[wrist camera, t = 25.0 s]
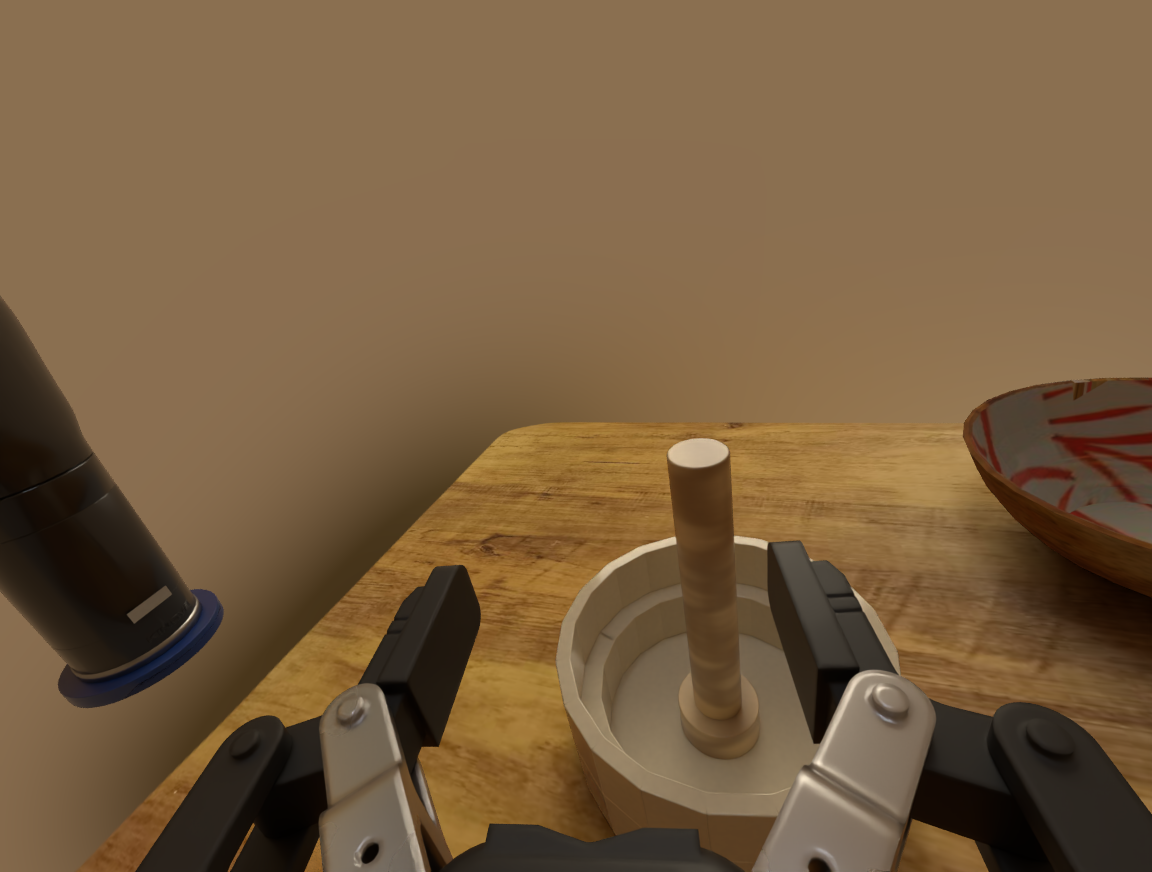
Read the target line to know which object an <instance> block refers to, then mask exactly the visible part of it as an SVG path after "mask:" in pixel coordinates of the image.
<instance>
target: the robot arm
mask: <svg viewBox="0 0 1152 872" xmlns="http://www.w3.org/2000/svg"><path fill="white" fill-rule="evenodd" d="M767 587H768V598H769V604H770V609H771V613H772V616H773V619H774V622H775V625H776V628H777V632H778V635H779V638H780V641H781V644H782V647H783V650H784V653H785V656H786V660H787V663H788V666H789V669H790V672H791V675H792V678H793V681H794V685H795V688H796V691H797V694H798V697H799V700H800V703H801V706H802V709H803V713H804V716H805V719H806V722H807V725H808V728H809V731H810V734H811V738H812V741H813V744H820V745H819V747H818V750H817V752H816V754H815V756H814V758H813V760H812V762H811V763H810V765H804V766H803V767H802V768H801V770H800V771H799V773H798V774H797V776H796V778H795V780H794V782H793V785H792V787H791V789H790V791H789V793H788V795H787V797H786V799H785V801H784V803H783V805H782V808H781V810H780V812H779V814H778V816H777V818H776V820H775V822H774V824H773V826H772V829H771V831H770V833H769V835H768V837H767V839H766V841H765V843H764V845H763V847H762V850H761V852H760V854H759V856H758V858H757V860H756V862H755V864H754V866H753V868H752V871H751V872H897V871H898V868H899V864H900V861H901V857H902V854H903V850H904V847H905V844H906V840H907V837H908V833H909V830H910V826H911V823H912V820H913V819H915V820H918V821H920V822H923V823H926V824H929V825H932V826H935V827H938V828H941V829H944V830H947V831H949V832H952V833H955V834H958V835H961V836H964V837H967V838H970V839H973V840H975V842H976V845H977V847H978V849H979V851H980V853H981V855H982V858H983V860H984V862H985V864H986V866H987V868H988V871H989V872H1152V814H1151V813H1150V811H1149V810H1148V809H1147V807H1146V806H1145V805H1144V803H1143V802H1142V801H1141V799H1140V798H1139V797H1138V795H1137V794H1136V793H1135V791H1134V790H1133V789H1132V788H1131V786H1130V785H1129V784H1128V782H1127V781H1126V780H1125V778H1124V777H1123V776H1122V774H1121V773H1120V772H1119V770H1118V769H1117V768H1116V766H1115V765H1114V764H1113V762H1112V761H1111V760H1110V758H1109V757H1108V756H1107V754H1106V753H1105V752H1104V750H1103V749H1102V748H1101V746H1100V745H1099V744H1098V743H1097V742H1096V740H1095V739H1094V738H1093V737H1092V736H1091V735H1090V734H1089V733H1088V732H1087V731H1086V730H1084V729H1083V728H1082V727H1081V726H1079V725H1078V724H1077V723H1075V722H1074V721H1072V720H1071V719H1069V718H1068V717H1066V716H1064V715H1062V714H1060V713H1058V712H1056V711H1054V710H1051V709H1049V708H1046V707H1043V706H1040V705H1036V704H1031V703H1023V702H1016V703H1009V704H1006V705H1003V706H1001V707H1000V708H999V709H998V710H997V711H996V712H995V714H994V716H993V717H991V716H987V715H983V714H979V713H975V712H971V711H967V710H963V709H959V708H955V707H951V706H947V705H944V704H941V703H938V702H936V701H934V700H931V699H929V698H928V697H927V696H926V694H925V693H924V692H923V691H922V690H921V689H920V688H918V687H917V686H916V685H915V684H914V683H912V682H910V681H909V680H907V679H905V678H904V677H902V676H900V675H899V674H898V673H897V671H896V670H895V668H894V666H893V665H892V663H891V661H890V659H889V657H888V655H887V653H886V652H885V650H884V648H883V646H882V644H881V642H880V640H879V638H878V637H877V635H876V633H875V631H874V629H873V627H872V625H871V624H870V622H869V620H868V618H867V616H866V614H865V612H863V611H862V607H861V605H860V603H859V601H858V599H857V597H855V595H854V592H853V590H852V588H851V586H850V584H849V583H848V581H847V579H846V577H845V575H844V574H843V573H841V572H840V571H839V570H838V569H837V568H835V567H834V566H833V565H832V564H831V563H830V562H828V561H827V560H825V561H810V559H809V557H808V555H807V552H806V550H805V548H804V546H803V544H802V542H801V541H784V542H770V543H768V546H767ZM0 592H1V593H2V594H3V595H4V596H5V597H6V598H7V599H8V600H9V601H10V602H11V604H13V606H14V607H15V608H16V609H17V610H18V611H19V612H20V613H21V614H22V615H23V617H24V618H25V619H26V620H27V621H28V622H29V623H30V624H31V625H32V626H33V627H34V628H35V630H36V631H37V632H38V633H39V634H40V635H41V636H42V637H43V638H44V639H45V640H46V641H47V643H48V644H49V645H50V646H51V647H52V648H53V649H54V650H55V651H56V652H57V653H58V654H59V656H60V657H61V658H62V659H63V660H64V661H65V662H66V663H67V664H68V665H69V666H70V668H71V671H72V672H73V673H74V674H75V675H76V676H77V678H78V679H79V680H81V681H83V682H86V683H98V682H104V681H108V680H112V679H115V678H118V677H120V676H123V675H125V674H128V673H130V672H132V671H134V670H136V669H138V668H140V667H142V666H144V665H146V664H147V663H149V662H151V661H153V660H154V659H156V658H157V657H159V656H160V655H162V654H163V653H165V652H166V651H167V650H169V649H170V648H171V647H173V646H174V645H175V644H176V643H177V642H179V641H180V640H181V639H182V638H183V637H184V636H185V635H186V634H187V633H188V632H189V631H190V630H191V629H192V627H193V626H194V625H195V624H196V622H197V621H198V619H199V617H200V615H201V612H202V605H201V603H200V601H199V600H198V599H197V597H196V596H195V595H194V594H193V593H191V591H190V590H189V588H188V587H187V585H186V584H185V582H184V581H183V580H182V578H181V577H180V575H179V573H178V572H177V571H176V569H175V568H174V566H173V565H172V563H171V562H170V561H169V559H168V558H167V556H166V555H165V553H164V552H163V551H162V549H161V548H160V546H159V545H158V543H157V542H156V540H155V539H154V537H153V536H152V535H151V533H150V532H149V530H148V529H147V527H146V526H145V525H144V523H143V522H142V520H141V519H140V517H139V516H138V515H137V513H136V512H135V510H134V509H133V507H132V506H131V504H130V503H129V502H128V501H127V499H126V497H125V496H124V494H123V493H122V492H121V490H120V489H119V487H118V486H117V484H116V483H115V482H114V480H113V479H112V478H111V476H110V475H109V473H108V472H107V470H106V469H105V468H104V466H103V465H102V463H101V462H100V460H99V459H98V458H97V456H96V455H95V453H94V452H93V451H92V449H91V447H90V446H89V445H88V443H87V441H86V440H85V438H84V437H83V435H82V432H81V430H80V427H79V424H78V421H77V419H76V416H75V414H74V412H73V410H72V408H71V406H70V404H69V403H68V401H67V399H66V398H65V396H64V395H63V393H62V391H61V390H60V388H59V387H58V385H57V384H56V382H55V380H54V379H53V377H52V375H51V374H50V372H49V370H48V369H47V367H46V366H45V364H44V362H43V361H42V359H41V357H40V355H39V354H38V352H37V350H36V349H35V347H34V345H33V343H32V342H31V340H30V338H29V337H28V335H27V333H26V332H25V330H24V328H23V327H22V325H21V324H20V322H19V321H18V319H17V317H16V316H15V314H14V313H13V312H12V310H11V309H10V308H9V307H8V305H7V304H6V303H5V301H4V300H3V299H2V297H1V296H0ZM480 619H481V613H480V606H479V602H478V600H477V597H476V594H475V591H474V589H473V586H472V583H471V580H470V577H469V575H468V572H467V569H466V568H465V566H463V565H453V566H439V567H435V568H434V569H433V571H432V573H431V574H430V576H429V578H428V580H427V582H426V584H425V586H424V587H417V588H416V589H415V590H414V591H413V592H412V593H411V594H410V595H409V596H408V597H407V598H406V599H405V600H404V601H403V603H402V604H401V606H400V608H399V610H398V612H397V614H396V615H395V617H394V621H392V623H391V625H390V626H389V628H388V630H387V635H385V636H384V637H383V639H382V641H381V643H380V645H379V647H378V649H377V650H376V652H375V654H374V656H373V658H372V660H371V661H370V663H369V665H368V667H367V669H366V671H365V672H364V674H363V676H362V678H361V680H360V682H359V683H358V685H356V686H353V687H351V688H349V689H347V690H346V691H344V692H343V693H341V694H340V695H339V696H337V697H336V698H335V699H334V700H333V701H332V702H331V703H330V705H329V706H328V707H327V708H326V710H325V712H324V713H323V715H322V716H319V717H316V718H313V719H310V720H307V721H304V722H301V723H298V724H295V725H292V726H289V727H286V728H285V726H284V725H283V724H282V722H281V721H280V720H279V718H277V717H275V716H262V717H258V718H255V719H253V720H251V721H249V722H247V723H245V724H244V725H242V726H241V727H239V728H238V729H237V730H236V731H234V732H233V733H232V734H231V735H230V736H229V737H228V738H227V739H226V740H225V741H224V742H223V743H222V745H221V746H220V747H219V749H218V750H217V752H216V753H215V755H214V756H213V758H212V759H211V761H210V762H209V764H208V765H207V766H206V768H205V769H204V771H203V772H202V774H201V775H200V777H199V778H198V780H197V781H196V783H195V784H194V786H193V787H192V789H191V790H190V792H189V793H188V795H187V796H186V798H185V799H184V801H183V802H182V803H181V805H180V806H179V808H178V809H177V811H176V812H175V814H174V815H173V817H172V818H171V820H170V821H169V823H168V824H167V826H166V827H165V829H164V830H163V832H162V833H161V835H160V836H159V837H158V839H157V840H156V842H155V843H154V845H153V846H152V848H151V849H150V851H149V852H148V854H147V855H146V857H145V858H144V860H143V861H142V863H141V864H140V866H139V867H138V869H137V870H136V871H135V872H227V871H228V869H229V866H230V864H231V862H232V860H233V858H234V857H235V855H236V853H237V851H238V849H239V847H240V846H241V844H242V842H243V840H244V838H245V836H246V835H247V833H248V831H249V829H250V827H251V825H252V824H253V823H254V824H255V827H254V829H253V830H252V832H251V834H250V836H249V838H248V840H247V842H246V844H245V845H244V847H243V849H242V851H241V853H240V855H239V857H238V858H237V860H236V862H235V864H234V866H233V868H232V870H231V871H230V872H304V871H305V869H306V866H307V864H308V862H309V860H310V857H311V855H312V853H313V850H314V848H315V846H316V843H317V841H318V839H319V836H320V845H321V855H322V866H323V872H745V871H744V870H743V869H742V868H740V867H739V866H737V865H736V864H734V863H733V862H731V861H730V860H728V859H727V858H725V857H723V856H721V855H719V854H717V853H715V852H713V851H711V850H708V849H705V848H702V847H700V839H699V831H698V829H678V828H641V829H638V830H634V831H631V832H627V833H624V834H620V835H617V836H613V837H610V838H606V839H603V840H599V841H596V842H584V841H581V840H578V839H575V838H573V837H570V836H567V835H564V834H562V833H559V832H556V831H553V830H551V829H548V828H545V827H542V826H540V825H523V824H489V828H488V833H487V838H486V842H485V843H481V844H479V845H477V846H475V847H472V848H470V849H468V850H467V851H465V852H463V853H462V854H460V855H458V856H457V857H456V858H454V859H453V858H452V855H451V853H450V851H449V848H448V846H447V844H446V841H445V838H444V836H443V833H442V830H441V826H440V823H439V820H438V817H437V813H436V810H435V807H434V804H433V800H432V797H431V794H430V791H429V787H428V784H427V781H426V778H425V774H424V771H423V768H422V765H421V762H420V760H419V759H418V754H419V752H420V749H421V747H439V744H440V741H441V738H442V735H443V732H444V729H445V726H446V724H447V721H448V718H449V715H450V712H451V709H452V706H453V703H454V700H455V697H456V694H457V691H458V688H459V686H460V683H461V680H462V677H463V674H464V671H465V668H466V665H467V662H468V659H469V656H470V653H471V650H472V648H473V645H474V642H475V639H476V636H477V633H478V630H479V626H480Z"/></svg>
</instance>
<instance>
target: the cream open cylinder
mask: <svg viewBox="0 0 1152 872" xmlns="http://www.w3.org/2000/svg"><path fill="white" fill-rule="evenodd" d="M768 543H770V542H767V541H764V540H761V539H757V538H749V537H741V536H734V547H735V568H736V589H737V610H738V631H739V651H740V672H741V674H742V675H743V676H744V677H745V678H746V679H747V680H748V681H749V682H750V683H751V684H752V686H753V687H754V689H755V691H756V693H757V696H758V700H759V719H760V731H759V736H758V740H757V742H756V744H755V745H754V747H753V748H752V749H751V750H750V751H749V752H747V753H746V754H745V755H743V756H741V757H738V758H735V759H727V760H724V759H716V758H713V757H710V756H707V755H705V754H703V753H702V752H700V751H699V750H698V749H696V748H695V747H694V746H693V745H692V744H691V743H690V741H689V740H688V739H687V737H686V735H685V733H684V731H683V728H682V724H681V717H680V710H679V703H678V692H679V688H680V685H681V683H682V681H683V680H684V678H685V677H686V676H687V675H688V674H689V673H690V672H691V667H690V658H689V649H688V641H687V632H686V623H685V614H684V605H683V596H682V588H681V579H680V570H679V561H678V552H677V543H676V536H675V537H672V538H668V539H665V540H661V541H658V542H654V543H651V544H647V545H643V546H640V547H638V548H636V549H634V550H632V551H631V552H629V553H627V554H625V555H623V556H621V557H619V558H618V559H616V560H614V561H612V562H610V563H608V564H607V565H606V566H605V567H604V568H603V569H602V570H601V571H600V572H599V573H598V574H596V575H595V576H594V577H593V578H592V579H591V580H590V581H589V582H588V583H587V584H586V585H585V586H584V587H583V588H582V589H581V590H580V591H579V593H578V595H577V597H576V598H575V600H574V602H573V604H572V606H571V607H570V609H569V611H568V613H567V614H566V616H565V618H564V620H563V622H562V626H561V632H560V638H559V643H558V649H557V655H556V667H557V672H558V678H559V683H560V688H561V693H562V698H563V704H564V707H565V711H566V714H567V717H568V721H569V724H570V728H571V731H572V735H573V738H574V741H575V745H576V748H577V752H578V755H579V758H580V762H581V765H582V769H583V772H584V776H585V779H586V782H587V785H588V788H589V790H590V792H591V793H592V795H593V797H594V799H595V800H596V802H597V804H598V806H599V807H600V809H601V811H602V813H603V815H604V816H605V818H606V820H607V822H608V823H609V825H610V827H611V829H612V831H613V832H614V833H615V834H616V835H620V834H624V833H627V832H631V831H634V830H638V829H641V828H678V829H698V831H699V839H700V847H702V848H705V849H708V850H711V851H713V852H715V853H717V854H719V855H721V856H723V857H725V858H727V859H728V860H730V861H731V862H733V863H734V864H736V865H737V866H739V867H740V868H742V869H743V870H744V871H745V872H751V871H752V868H753V866H754V864H755V862H756V860H757V858H758V856H759V854H760V852H761V850H762V847H763V845H764V843H765V841H766V839H767V837H768V835H769V833H770V831H771V829H772V826H773V824H774V822H775V820H776V818H777V816H778V814H779V812H780V810H781V808H782V805H783V803H784V801H785V799H786V797H787V795H788V793H789V791H790V789H791V787H792V785H793V782H794V780H795V778H796V776H797V774H798V773H799V771H800V770H801V768H802V767H803V766H804V765H810V763H811V762H812V760H813V758H814V756H815V754H816V752H817V750H818V747H819V745H820V744H813V741H812V738H811V734H810V731H809V728H808V725H807V722H806V719H805V716H804V713H803V709H802V706H801V703H800V700H799V697H798V694H797V691H796V688H795V685H794V681H793V678H792V675H791V672H790V669H789V666H788V663H787V660H786V656H785V653H784V650H783V647H782V644H781V641H780V638H779V635H778V632H777V628H776V625H775V622H774V619H773V616H772V613H771V609H770V604H769V598H768V587H767V546H768ZM809 559H810V558H809ZM810 561H813V560H812V559H810ZM851 588H852V587H851ZM852 590H853V592H854V595H855V597H857V599H858V601H859V603H860V605H861V607H862V611H863V612H865V614H866V616H867V618H868V620H869V622H870V624H871V625H872V627H873V629H874V631H875V633H876V635H877V637H878V638H879V640H880V642H881V644H882V646H883V648H884V650H885V652H886V653H887V655H888V657H889V659H890V661H891V663H892V665H893V666H894V668H895V670H896V671H897V673H898V674H899V675H900V676H901V672H900V664H899V656H898V651H897V650H896V648H895V646H894V644H893V642H892V641H891V639H890V637H889V635H888V633H887V631H886V630H885V628H884V626H883V624H882V622H881V621H880V619H879V617H878V615H877V613H876V611H875V610H874V609H873V608H872V607H871V606H870V605H869V604H868V603H867V602H866V601H865V600H864V599H863V598H862V597H861V596H860V595H859V594H858V593H857V592H856V591H855V590H854V589H853V588H852Z"/></svg>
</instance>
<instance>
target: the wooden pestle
mask: <svg viewBox="0 0 1152 872" xmlns="http://www.w3.org/2000/svg"><path fill="white" fill-rule="evenodd" d="M667 464H668V473H669V481H670V490H671V499H672V508H673V517H674V526H675V535H676V543H677V552H678V561H679V570H680V579H681V588H682V596H683V605H684V614H685V623H686V632H687V641H688V649H689V658H690V667H691V672H690V673H689V674H688V675H687V676H686V677H685V678H684V680H683V681H682V683H681V685H680V688H679V692H678V703H679V710H680V717H681V724H682V728H683V731H684V733H685V735H686V737H687V739H688V740H689V741H690V743H691V744H692V745H693V746H694V747H695V748H696V749H698V750H699V751H700V752H702V753H703V754H705V755H707V756H710V757H713V758H716V759H724V760H727V759H735V758H738V757H741V756H743V755H745V754H746V753H747V752H749V751H750V750H751V749H752V748H753V747H754V745H755V744H756V742H757V740H758V736H759V731H760V719H759V700H758V696H757V693H756V691H755V689H754V687H753V686H752V684H751V683H750V682H749V681H748V680H747V679H746V678H745V677H744V676H743V675H742V674H741V672H740V651H739V631H738V610H737V589H736V568H735V547H734V527H733V506H732V485H731V464H730V451H729V449H728V447H727V446H726V445H725V444H723V443H722V442H720V441H717V440H713V439H705V438H698V439H690V440H685V441H682V442H679V443H677V444H675V445H674V446H672V447H671V448H670V449H669V451H668V453H667Z"/></svg>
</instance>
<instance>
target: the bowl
mask: <svg viewBox="0 0 1152 872" xmlns="http://www.w3.org/2000/svg"><path fill="white" fill-rule="evenodd" d="M963 438H964V440H965V443H966V445H967V447H968V449H969V452H970V454H971V456H972V458H973V461H974V463H975V465H976V467H977V470H978V471H979V473H980V475H981V477H982V479H983V480H984V482H985V484H986V486H987V487H988V488H989V489H990V491H991V492H992V493H993V494H994V495H995V497H996V498H997V499H998V500H999V501H1000V503H1001V504H1002V505H1003V506H1004V507H1005V508H1006V509H1007V511H1008V512H1009V513H1010V514H1011V515H1012V516H1013V517H1014V519H1016V520H1017V521H1018V522H1019V523H1020V524H1021V525H1022V526H1024V527H1025V528H1026V529H1027V530H1028V531H1029V532H1031V533H1032V534H1033V535H1034V536H1036V537H1037V538H1038V539H1039V540H1041V541H1042V542H1043V543H1044V544H1046V545H1047V546H1048V547H1050V548H1051V549H1052V550H1054V551H1055V552H1057V553H1059V554H1060V555H1062V556H1064V557H1065V558H1067V559H1069V560H1070V561H1072V562H1073V563H1075V564H1077V565H1078V566H1080V567H1082V568H1084V569H1086V570H1088V571H1090V572H1093V573H1095V574H1097V575H1099V576H1101V577H1103V578H1105V579H1107V580H1109V581H1111V582H1113V583H1116V584H1118V585H1121V586H1123V587H1126V588H1129V589H1131V590H1134V591H1136V592H1139V593H1142V594H1144V595H1147V596H1149V597H1152V378H1099V379H1084V380H1070V381H1062V382H1055V383H1048V384H1041V385H1034V386H1030V387H1026V388H1022V389H1018V390H1014V391H1009V392H1007V393H1005V394H1002V395H999V396H997V397H994V398H992V399H989V400H987V401H986V402H984V403H983V404H981V405H980V406H978V407H977V408H975V409H974V410H973V411H972V412H971V414H970V415H969V416H968V418H967V419H966V420H965V422H964V430H963Z"/></svg>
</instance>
